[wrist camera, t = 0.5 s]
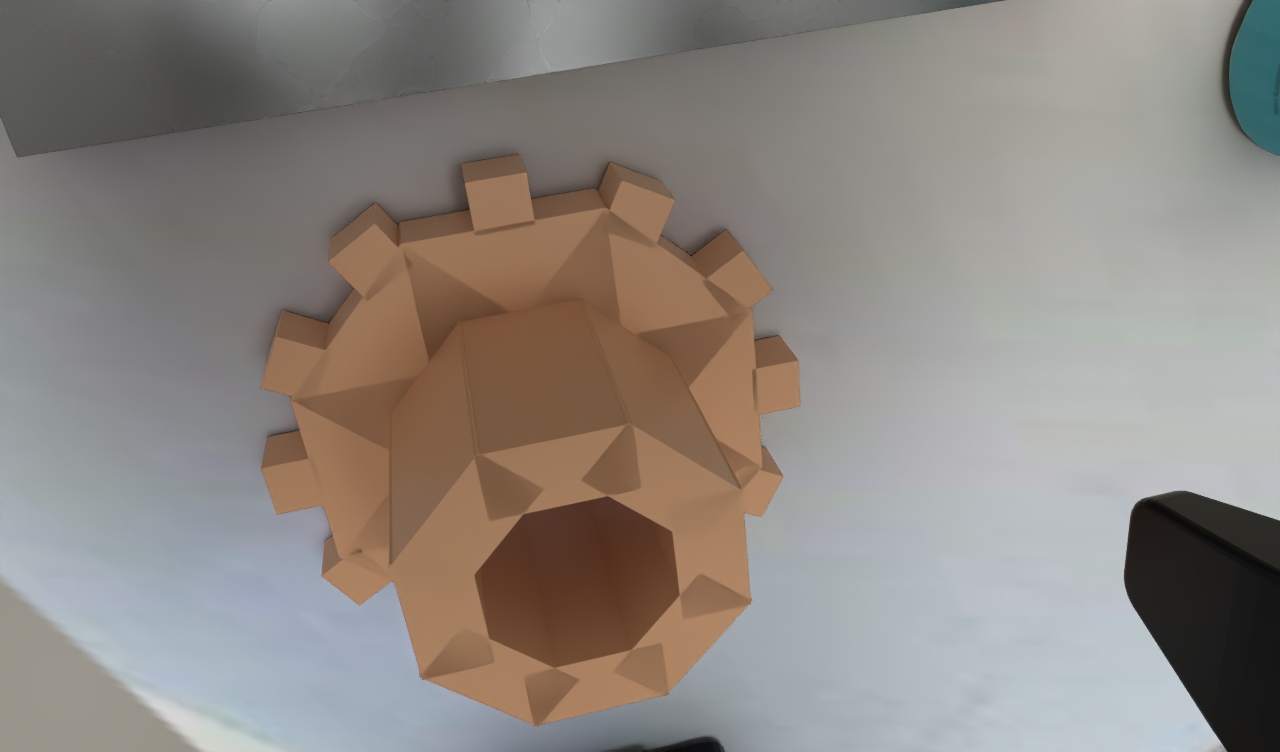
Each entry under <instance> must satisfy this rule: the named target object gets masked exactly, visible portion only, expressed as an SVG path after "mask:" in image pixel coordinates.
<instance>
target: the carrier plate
mask: <svg viewBox="0 0 1280 752" xmlns="http://www.w3.org/2000/svg"><path fill="white" fill-rule="evenodd" d="M997 1H1004V0H0V116H1V119H2V121H3V124H4V126H5V129H6V131H7V134H8V136H9V139H10V141H11V144H12V146H13V149H14V151H15V153H16V156H17V157H23V156H29V155H36V154H42V153H48V152H55V151H61V150H67V149H73V148H80V147H86V146H92V145H99V144H105V143H111V142H117V141H124V140H130V139H136V138H143V137H149V136H155V135H161V134H168V133H174V132H180V131H187V130H193V129H199V128H205V127H212V126H218V125H224V124H231V123H237V122H243V121H249V120H256V119H262V118H268V117H275V116H281V115H287V114H293V113H300V112H306V111H312V110H319V109H325V108H331V107H337V106H344V105H350V104H356V103H363V102H369V101H375V100H381V99H388V98H394V97H400V96H407V95H413V94H419V93H425V92H432V91H438V90H444V89H451V88H457V87H463V86H469V85H476V84H482V83H488V82H495V81H501V80H507V79H513V78H520V77H526V76H532V75H539V74H545V73H551V72H557V71H564V70H570V69H576V68H583V67H589V66H595V65H601V64H608V63H614V62H620V61H627V60H633V59H639V58H645V57H652V56H658V55H664V54H671V53H677V52H683V51H689V50H696V49H702V48H708V47H715V46H721V45H727V44H733V43H740V42H746V41H752V40H758V39H765V38H771V37H777V36H784V35H790V34H796V33H802V32H809V31H815V30H821V29H828V28H834V27H840V26H846V25H853V24H859V23H865V22H872V21H878V20H884V19H890V18H897V17H903V16H909V15H916V14H922V13H928V12H934V11H941V10H947V9H953V8H960V7H966V6H972V5H978V4H985V3H991V2H997Z"/></svg>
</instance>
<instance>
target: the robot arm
mask: <svg viewBox="0 0 1280 752" xmlns="http://www.w3.org/2000/svg"><path fill="white" fill-rule="evenodd" d="M1124 582H1125V588H1126V591H1127V595H1128V597H1129V599H1130V602H1131V603H1132V605H1133V607H1134V609H1135V610H1136V612H1137V613H1138V615H1139V616H1140V618H1141V619H1142V621H1143V623H1144V624H1145V626H1146V627H1147V629H1148V630H1149V632H1150V633H1151V635H1152V637H1153V638H1154V640H1155V641H1156V643H1157V644H1158V646H1159V647H1160V649H1161V651H1162V652H1163V654H1164V655H1165V657H1166V658H1167V660H1168V661H1169V663H1170V665H1171V666H1172V668H1173V669H1174V671H1175V672H1176V674H1177V675H1178V677H1179V679H1180V680H1181V682H1182V683H1183V685H1184V686H1185V688H1186V690H1187V691H1188V693H1189V694H1190V696H1191V697H1192V699H1193V700H1194V702H1195V704H1196V705H1197V707H1198V708H1199V710H1200V711H1201V713H1202V714H1203V716H1204V718H1205V719H1206V721H1207V722H1208V724H1209V725H1210V727H1211V728H1212V730H1213V731H1214V733H1215V734H1216V736H1217V737H1218V739H1219V740H1220V741H1221V743H1222V744H1223V746H1224V747H1225V749H1226V750H1227V752H1280V521H1279V520H1276V519H1273V518H1270V517H1267V516H1264V515H1260V514H1257V513H1254V512H1251V511H1248V510H1245V509H1242V508H1239V507H1235V506H1232V505H1229V504H1226V503H1223V502H1220V501H1217V500H1214V499H1210V498H1207V497H1204V496H1201V495H1198V494H1195V493H1192V492H1188V491H1173V492H1169V493H1164V494H1160V495H1156V496H1151V497H1147V498H1144V499H1141V500H1140V501H1138V502H1137V503H1136V504H1135V506H1134V507H1133V509H1132V511H1131V516H1130V524H1129V533H1128V542H1127V551H1126V560H1125V569H1124ZM668 752H725V751H724V748H723V746H722V745H720V744H719V743H716V742H704V743H700V744H696V745H692V746H688V747H684V748H680V749H676V750H672V751H668Z"/></svg>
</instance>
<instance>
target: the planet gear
mask: <svg viewBox="0 0 1280 752" xmlns="http://www.w3.org/2000/svg"><path fill="white" fill-rule="evenodd" d="M461 167H462V172H463V177H464V183H465V188H466V193H467V198H468V203H469V208H470V210H465V211H460V212H454V213H448V214H442V215H437V216H431V217H425V218H420V219H414V220H408V221H402V222H400V223H399V224H398V225H397V224H396V223H395V222H394V221H393V220H392V219H391V218H390V217H389V216H388V215H387V214H386V213H385V212H384V211H383V210H382V208H381V207H380V206H379V205H378V204H377V203H376V202H375V203H374V204H373V205H372V206H371V207H369V208H368V209H367V210H366V211H364V212H363V213H362V214H361V215H360V216H358V217H357V218H356V219H355V220H354V221H352V222H351V223H350V224H349V225H347V226H346V227H345V228H344V229H343V230H341V231H340V232H339V233H338V234H337V235H335V236H334V237H333V238H332V239H331V243H330V250H329V257H328V263H329V264H330V265H331V266H332V267H333V268H334V269H335V270H336V271H337V272H338V273H339V274H340V275H341V276H342V277H343V278H344V279H345V280H346V281H347V282H349V283H350V284H351V285H352V286H353V287H354V289H353V290H352V291H351V293H350V294H349V296H348V297H347V298H346V300H345V301H344V303H343V304H342V306H341V307H340V308H339V310H338V311H337V313H336V314H335V316H334V317H333V318H332V320H331V321H330V323H325V322H322V321H318V320H314V319H311V318H307V317H304V316H300V315H297V314H293V313H290V312H286V311H283V310H282V313H281V316H280V319H279V322H278V325H277V329H276V332H275V335H274V338H273V341H272V345H271V348H270V351H269V354H268V358H267V361H266V365H265V370H264V374H263V378H262V383H261V387H260V388H261V389H265V390H269V391H273V392H277V393H281V394H284V395H288V396H291V400H290V401H291V404H292V407H293V410H294V414H295V417H296V420H297V423H298V426H299V431H294V432H289V433H284V434H279V435H274V436H269V437H267V441H266V446H265V451H264V456H263V461H262V466H261V470H262V473H263V475H264V478H265V481H266V484H267V487H268V490H269V493H270V496H271V499H272V502H273V505H274V508H275V511H276V514H282V513H287V512H292V511H297V510H302V509H306V508H311V507H316V506H321V505H323V506H324V509H325V513H326V516H327V519H328V522H329V525H330V529H331V532H332V536H331V537H330V538H328V539H327V540H326V541H325V543H324V554H323V565H322V577H323V578H325V579H326V580H327V581H329V582H330V583H331V584H332V585H334V586H335V587H336V588H338V589H339V590H340V591H341V592H343V593H344V594H345V595H347V596H348V597H349V598H350V599H352V600H353V601H354V602H356V603H357V604H358V605H359V606H360V605H361V604H362V603H364V602H365V601H366V600H368V599H369V598H370V597H372V596H373V595H374V594H375V593H377V592H378V591H379V590H381V589H382V588H383V587H385V586H386V585H387V584H389V583H390V582H391V581H392V582H394V583H395V586H396V590H397V593H398V597H399V600H400V604H401V607H402V611H403V614H404V618H405V621H406V625H407V628H408V632H409V635H410V639H411V642H412V646H413V649H414V653H415V656H416V660H417V663H418V667H419V674H420V678H422V680H424V679H425V680H427V681H430V682H432V683H434V684H437V685H439V686H442V687H444V688H447V689H449V690H451V691H454V692H456V693H459V694H461V695H463V696H466V697H468V698H471V699H473V700H475V701H478V702H480V703H483V704H485V705H487V706H490V707H492V708H495V709H497V710H499V711H502V712H504V713H507V714H509V715H511V716H514V717H516V718H519V719H521V720H524V721H526V722H528V723H531V724H533V725H534V726H538V727H539V725H542V724H546V723H551V722H555V721H559V720H563V719H567V718H571V717H576V716H580V715H584V714H588V713H592V712H596V711H601V710H605V709H609V708H613V707H617V706H622V705H626V704H630V703H634V702H638V701H642V700H647V699H651V698H655V697H659V696H663V695H664V696H666V695H667V694H669V692H670V691H671V689H672V688H673V687H674V686H675V685H676V684H677V683H678V682H679V681H680V680H681V678H682V677H683V676H684V675H685V674H686V673H687V672H688V671H689V670H690V669H691V668H692V666H693V665H694V664H695V663H696V662H697V661H698V660H699V659H700V658H701V657H702V655H703V654H704V653H705V652H706V651H707V650H708V649H709V648H710V647H711V646H712V644H713V643H714V642H715V641H716V640H717V639H718V638H719V637H720V636H721V635H722V633H723V632H724V631H725V630H726V629H727V628H728V627H729V626H730V625H731V624H732V623H733V621H734V620H735V619H736V618H737V617H738V616H739V615H740V614H741V613H742V612H743V610H744V609H745V608H746V607H747V606H748V605H749V604H751V602H752V599H751V597H750V584H749V571H748V558H747V545H746V532H745V519H744V513H747V514H751V515H755V516H759V517H762V515H763V513H764V512H765V510H766V508H767V506H768V504H769V502H770V500H771V499H772V497H773V495H774V493H775V491H776V489H777V487H778V486H779V484H780V482H781V480H782V478H783V475H782V473H781V472H780V470H779V468H778V467H777V465H776V463H775V462H774V460H773V458H772V457H771V455H770V453H769V452H768V450H767V448H764V447H761V435H760V420H759V415H761V414H766V413H771V412H775V411H780V410H785V409H790V408H795V407H800V388H799V364H798V359H797V358H796V357H795V355H794V354H793V353H792V351H791V350H790V349H789V347H788V346H787V345H786V343H785V342H784V341H783V340H782V338H781V337H780V336H776V337H771V338H766V339H760V340H755V341H754V327H753V312H752V310H751V307H752V306H753V305H755V304H756V303H757V302H758V301H760V300H761V299H762V298H764V297H765V296H766V295H768V294H769V293H770V292H772V291H773V289H772V287H771V286H770V285H769V283H768V282H767V281H766V279H765V278H764V277H763V275H762V274H761V273H760V271H759V270H758V269H757V267H756V266H755V265H754V263H753V262H752V261H751V259H750V258H749V257H748V255H747V254H746V253H745V251H744V250H743V249H742V248H741V246H740V245H739V244H738V243H737V242H736V240H735V239H734V238H733V237H732V236H731V234H730V233H729V232H728V231H727V230H725V231H723V232H722V233H721V234H720V235H718V236H717V237H716V238H714V239H713V240H712V241H711V242H709V243H708V244H707V245H705V246H704V247H703V248H702V249H700V250H699V251H698V252H696V253H695V254H694V255H693V256H690V255H688V254H687V253H686V252H684V251H683V250H681V249H680V248H679V247H677V246H676V245H674V244H673V243H672V242H670V241H669V240H667V239H666V238H664V237H663V236H662V235H661V232H662V230H663V228H664V226H665V223H666V221H667V219H668V217H669V214H670V212H671V210H672V208H673V205H674V203H675V201H676V200H675V199H674V198H673V196H672V195H671V194H670V192H669V191H668V190H667V188H666V187H665V186H664V184H663V183H662V182H661V181H659V180H656V179H654V178H651V177H648V176H646V175H643V174H640V173H638V172H635V171H632V170H630V169H627V168H624V167H622V166H619V165H616V164H614V163H611V162H610V163H609V165H608V168H607V170H606V173H605V175H604V178H603V180H602V182H601V185H600V187H599V190H597V189H595V188H592V189H586V190H580V191H574V192H569V193H563V194H557V195H551V196H546V197H540V198H534V199H531V196H530V190H529V184H528V178H527V172H526V170H525V167H524V164H523V162H522V159H521V157H520V154H516V155H510V156H504V157H498V158H492V159H486V160H480V161H474V162H468V163H463V164H461Z"/></svg>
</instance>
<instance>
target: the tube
mask: <svg viewBox="0 0 1280 752" xmlns="http://www.w3.org/2000/svg"><path fill="white" fill-rule="evenodd" d="M1229 83H1230V95H1231V101H1232V104H1233V108H1234V111H1235V114H1236V117H1237V120H1238V122H1239V124H1240V126H1241V128H1242V130H1243V131H1244V132H1245V133H1246V134H1247V135H1248V136H1249V137H1250V138H1251V140H1252V141H1253V142H1254V143H1255V144H1257V145H1258V146H1260V147H1262V148H1263V149H1265V150H1267V151H1269V152H1271V153H1274V154H1276V155H1278V156H1280V0H1253V1H1252V3H1251V5H1250V7H1249V9H1248V10H1247V12H1246V15H1245V17H1244V19H1243V22H1242V24H1241V27H1240V29H1239V31H1238V34H1237V36H1236V39H1235V42H1234V45H1233V48H1232V53H1231V58H1230V69H1229Z"/></svg>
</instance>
